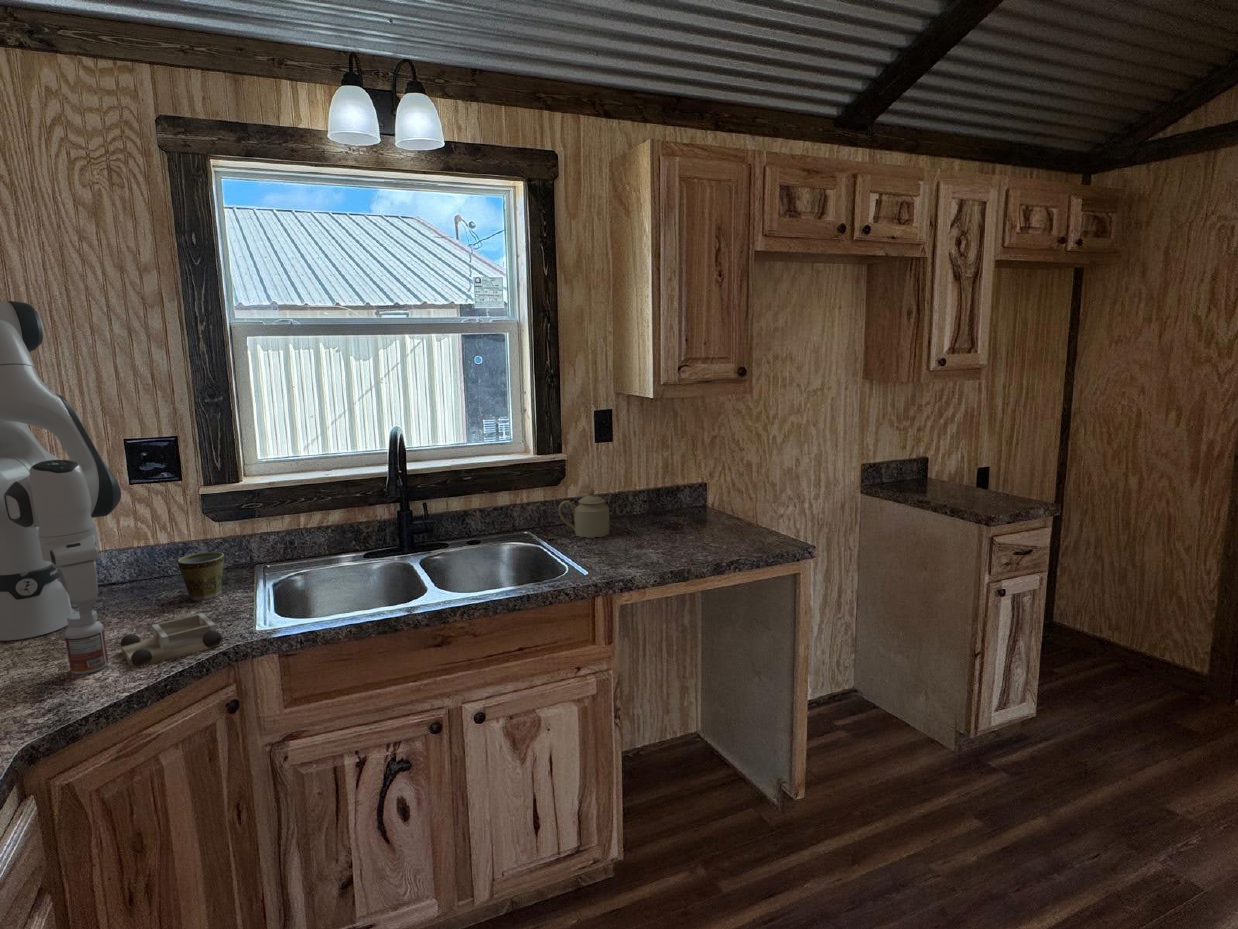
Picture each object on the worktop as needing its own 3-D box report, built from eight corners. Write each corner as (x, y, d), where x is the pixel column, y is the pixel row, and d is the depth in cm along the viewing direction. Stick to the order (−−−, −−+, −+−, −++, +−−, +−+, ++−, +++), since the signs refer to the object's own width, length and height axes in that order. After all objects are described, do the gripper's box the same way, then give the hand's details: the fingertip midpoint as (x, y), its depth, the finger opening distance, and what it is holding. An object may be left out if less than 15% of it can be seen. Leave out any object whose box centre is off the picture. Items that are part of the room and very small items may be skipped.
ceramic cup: (234, 595, 188) (230, 556, 186) (191, 606, 180) (186, 565, 179) (214, 584, 196) (210, 547, 195) (172, 594, 189) (167, 556, 187)
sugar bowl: (571, 542, 229) (570, 493, 227) (558, 534, 239) (556, 487, 236) (615, 535, 236) (614, 488, 233) (600, 527, 245) (599, 482, 243)
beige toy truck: (121, 652, 154) (118, 631, 153) (207, 630, 164) (205, 611, 164) (132, 669, 146) (129, 647, 145) (222, 645, 156) (220, 624, 156)
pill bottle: (82, 662, 149) (74, 609, 147) (115, 660, 150) (108, 607, 148) (63, 676, 143) (54, 621, 141) (97, 674, 144) (89, 619, 142)
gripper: (43, 540, 147) (56, 608, 150) (56, 559, 132) (70, 633, 135) (82, 534, 152) (94, 599, 154) (99, 551, 137) (111, 623, 139)
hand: (83, 615), depth 144 cm, fingers open, 8 cm apart
